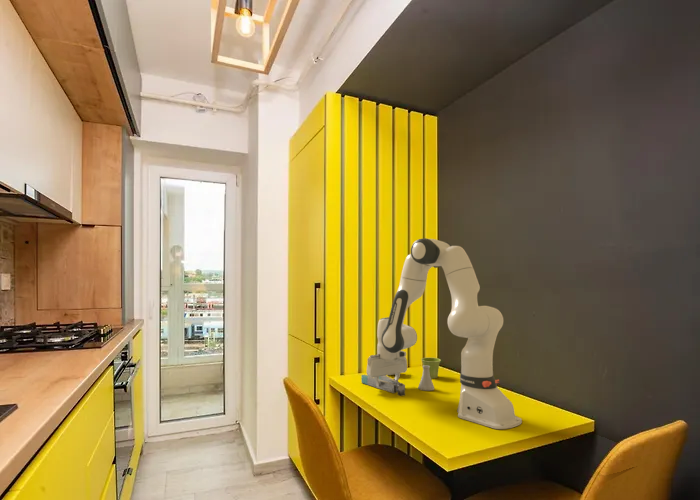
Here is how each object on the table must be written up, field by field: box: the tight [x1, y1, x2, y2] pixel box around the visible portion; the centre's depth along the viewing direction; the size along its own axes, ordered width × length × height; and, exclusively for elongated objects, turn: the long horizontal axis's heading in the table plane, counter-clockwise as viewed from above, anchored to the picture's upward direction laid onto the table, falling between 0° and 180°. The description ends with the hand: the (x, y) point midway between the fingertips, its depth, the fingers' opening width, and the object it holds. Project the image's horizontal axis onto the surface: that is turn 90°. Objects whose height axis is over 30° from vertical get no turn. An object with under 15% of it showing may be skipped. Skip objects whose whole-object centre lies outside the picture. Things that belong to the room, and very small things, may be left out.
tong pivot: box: [396, 382, 406, 397], centre depth 165 cm, size 3×3×5 cm
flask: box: [417, 365, 435, 392], centre depth 174 cm, size 7×7×10 cm
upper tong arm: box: [361, 374, 397, 394], centre depth 175 cm, size 21×2×4 cm, turn 39°
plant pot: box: [421, 357, 442, 380], centre depth 194 cm, size 9×9×9 cm
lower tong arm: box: [379, 375, 401, 392], centre depth 178 cm, size 21×2×4 cm, turn 23°
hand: (387, 384), depth 174 cm, fingers open, 8 cm apart
